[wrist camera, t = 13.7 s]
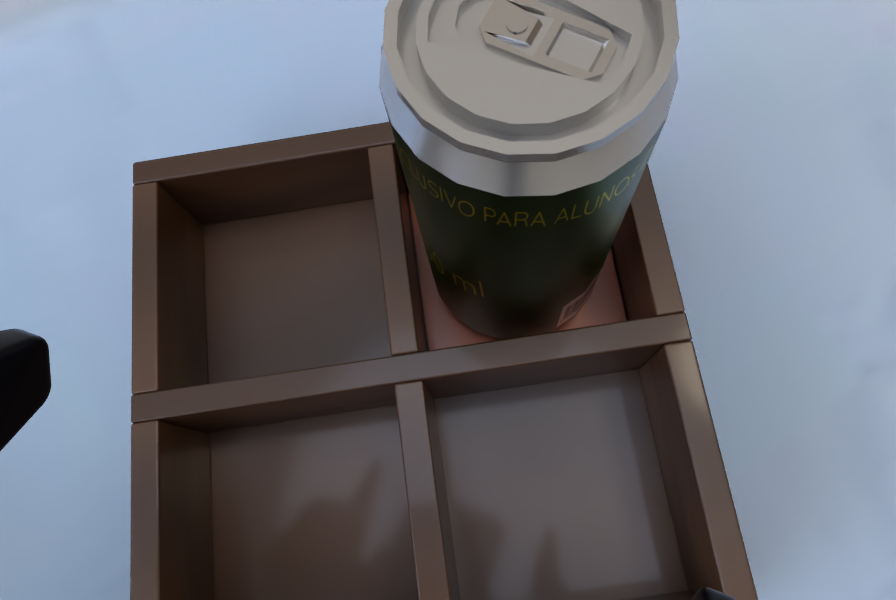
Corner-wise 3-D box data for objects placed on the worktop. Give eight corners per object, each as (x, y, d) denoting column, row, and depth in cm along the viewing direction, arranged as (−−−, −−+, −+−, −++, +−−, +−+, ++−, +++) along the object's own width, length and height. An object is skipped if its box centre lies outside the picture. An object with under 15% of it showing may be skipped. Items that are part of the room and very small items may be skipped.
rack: (716, 613, 20) (768, 639, 16) (199, 684, 20) (128, 726, 16) (606, 150, 25) (627, 82, 21) (189, 215, 25) (131, 161, 21)
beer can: (620, 234, 23) (743, -43, 11) (551, 374, 22) (611, 223, 10) (478, 172, 24) (459, -139, 12) (405, 302, 23) (309, 91, 11)
